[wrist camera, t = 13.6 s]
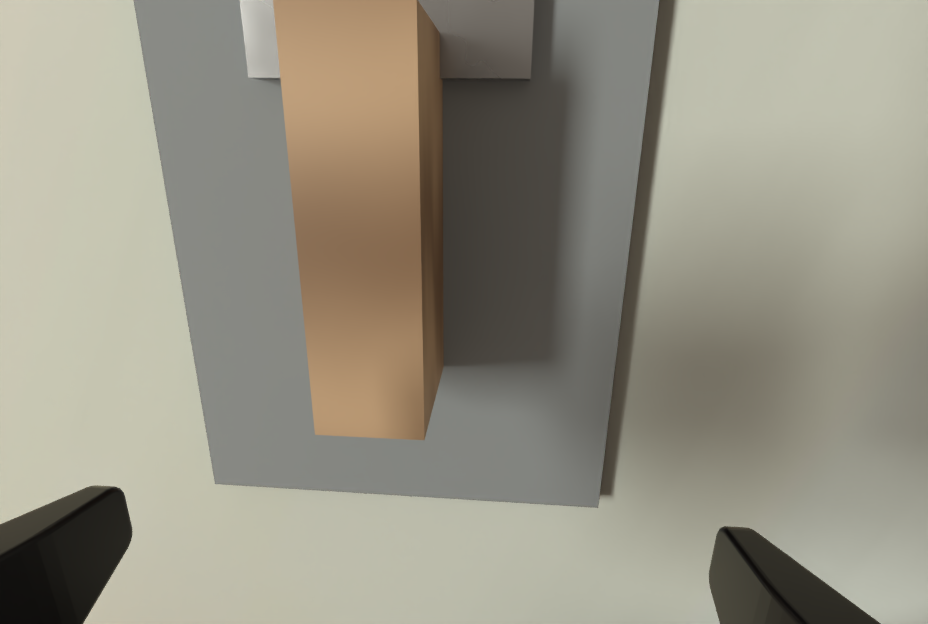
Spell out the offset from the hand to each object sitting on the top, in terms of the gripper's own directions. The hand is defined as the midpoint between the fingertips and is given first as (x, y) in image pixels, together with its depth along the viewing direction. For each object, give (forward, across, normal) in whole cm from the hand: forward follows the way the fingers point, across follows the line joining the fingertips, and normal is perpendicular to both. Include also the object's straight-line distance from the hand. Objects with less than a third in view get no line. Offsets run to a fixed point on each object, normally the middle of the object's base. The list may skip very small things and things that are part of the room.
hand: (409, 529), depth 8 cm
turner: (+8, +2, -6) cm, 10 cm away
